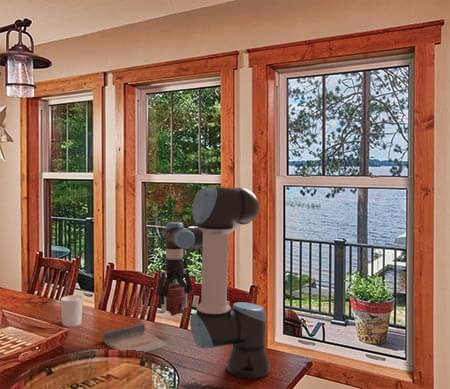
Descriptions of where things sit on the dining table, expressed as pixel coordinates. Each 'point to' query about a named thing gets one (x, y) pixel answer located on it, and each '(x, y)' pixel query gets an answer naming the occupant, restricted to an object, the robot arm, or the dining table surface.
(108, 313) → the dining table surface
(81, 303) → the candle holder
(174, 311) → the mechanical component
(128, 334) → the rack plate
